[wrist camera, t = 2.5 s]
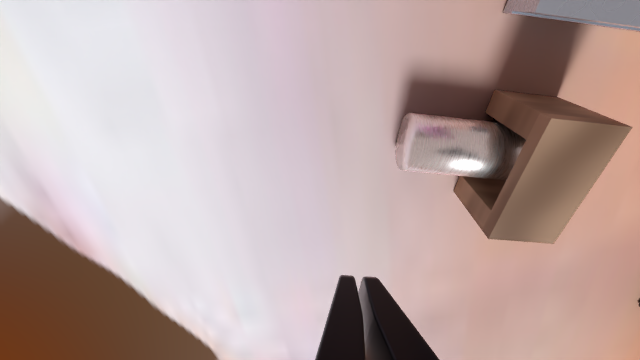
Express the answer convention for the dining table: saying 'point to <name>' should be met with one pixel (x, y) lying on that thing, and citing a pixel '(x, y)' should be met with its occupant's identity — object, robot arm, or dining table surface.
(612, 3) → the cradle
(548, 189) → the brown boxy piece
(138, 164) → the dining table surface
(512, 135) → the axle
